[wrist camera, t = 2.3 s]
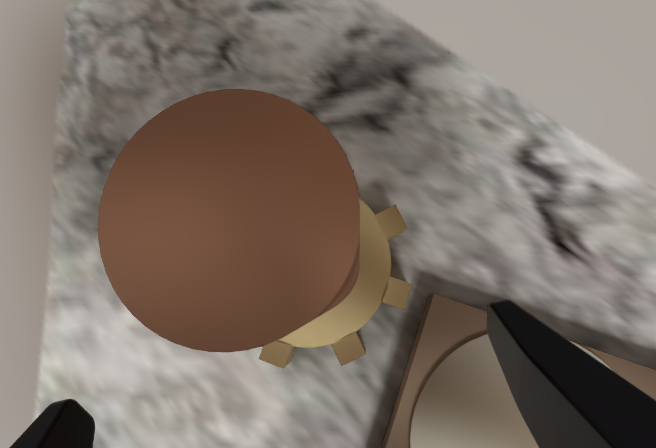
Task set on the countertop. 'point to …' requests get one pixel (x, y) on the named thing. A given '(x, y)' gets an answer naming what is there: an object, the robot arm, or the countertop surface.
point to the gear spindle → (245, 230)
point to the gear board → (469, 385)
